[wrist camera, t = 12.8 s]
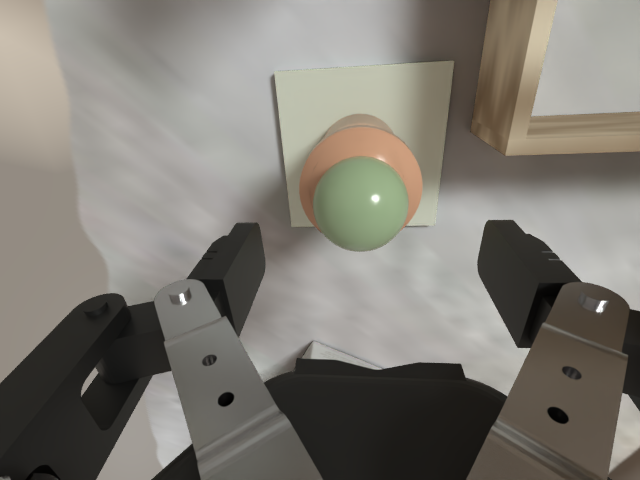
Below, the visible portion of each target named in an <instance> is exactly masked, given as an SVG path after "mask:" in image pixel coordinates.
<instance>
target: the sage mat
mask: <svg viewBox="0 0 640 480" xmlns="http://www.w3.org/2000/svg"><path fill="white" fill-rule="evenodd" d="M453 68H454V60H451V61H435V62H419V63H403V64H387V65H371V66H355V67H339V68H324V69H308V70H292V71H276V72H274V75H275V84H276V93H277V102H278V111H279V120H280V129H281V137H282V146H283V155H284V164H285V173H286V182H287V191H288V200H289V209H290V218H291V227H315V226H314V225H313V224H312V223H311V222H310V220H309V219H308V217H307V216H306V214H305V212H304V210H303V207H302V204H301V201H300V194H299V183H300V177H301V173H302V170H303V167H304V165H305V162H306V160H307V158H308V156H309V155H310V153H311V151H312V150H313V149H314V147H315V146H316V145H317V144H318V143H319V142H320V141H321V140H322V139H323V137H324V135H325V134H326V132H327V131H328V129H329V128H330V127H331V126H332V125H333V124H334V123H335V122H336V121H338V120H340V119H341V118H343V117H346V116H348V115H352V114H368V115H372V116H375V117H377V118H379V119H381V120H382V121H384V122H385V123H386V124H387V125H388V126H389V127H390V128H391V130H392V131H393V133H394V135H396V136H398V137H399V138H400V139H401V140H402V141H403V142H404V143H405V144H406V145H407V146H408V147H409V149H410V150H411V152H412V154H413V155H414V157H415V159H416V161H417V163H418V165H419V168H420V171H421V175H422V183H423V185H422V196H421V200H420V204H419V206H418V209H417V211H416V213H415V214H414V216H413V218H412V219H411V220H410V222H409V223H408V224H407V225H406V226H429V225H435V221H436V212H437V204H438V195H439V187H440V179H441V170H442V162H443V153H444V145H445V136H446V128H447V119H448V111H449V102H450V94H451V85H452V77H453Z"/></svg>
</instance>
